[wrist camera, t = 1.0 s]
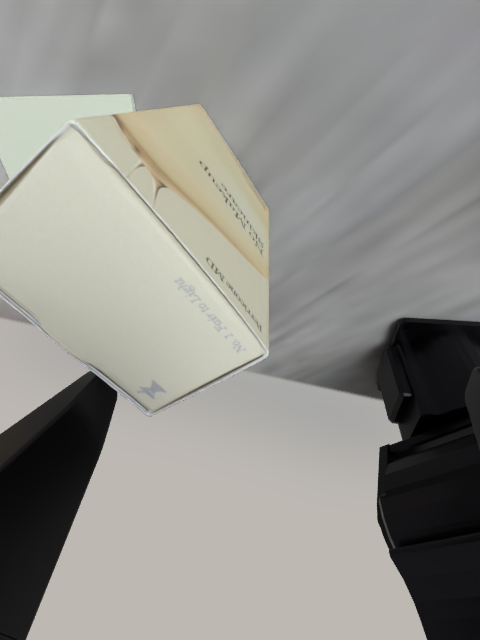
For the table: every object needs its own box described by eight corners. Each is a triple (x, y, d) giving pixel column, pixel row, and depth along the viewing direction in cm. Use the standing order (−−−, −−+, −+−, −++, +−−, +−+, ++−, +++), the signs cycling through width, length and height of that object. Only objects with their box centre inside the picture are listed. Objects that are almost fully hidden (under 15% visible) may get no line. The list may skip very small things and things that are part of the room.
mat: (132, 93, 15) (130, 94, 15) (161, 251, 20) (160, 253, 20) (-22, 97, 16) (-26, 97, 16) (42, 246, 21) (39, 249, 21)
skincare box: (271, 210, 18) (286, 360, 8) (207, 254, 20) (151, 425, 9) (196, 96, 15) (73, 102, 5) (129, 158, 17) (-65, 255, 7)
